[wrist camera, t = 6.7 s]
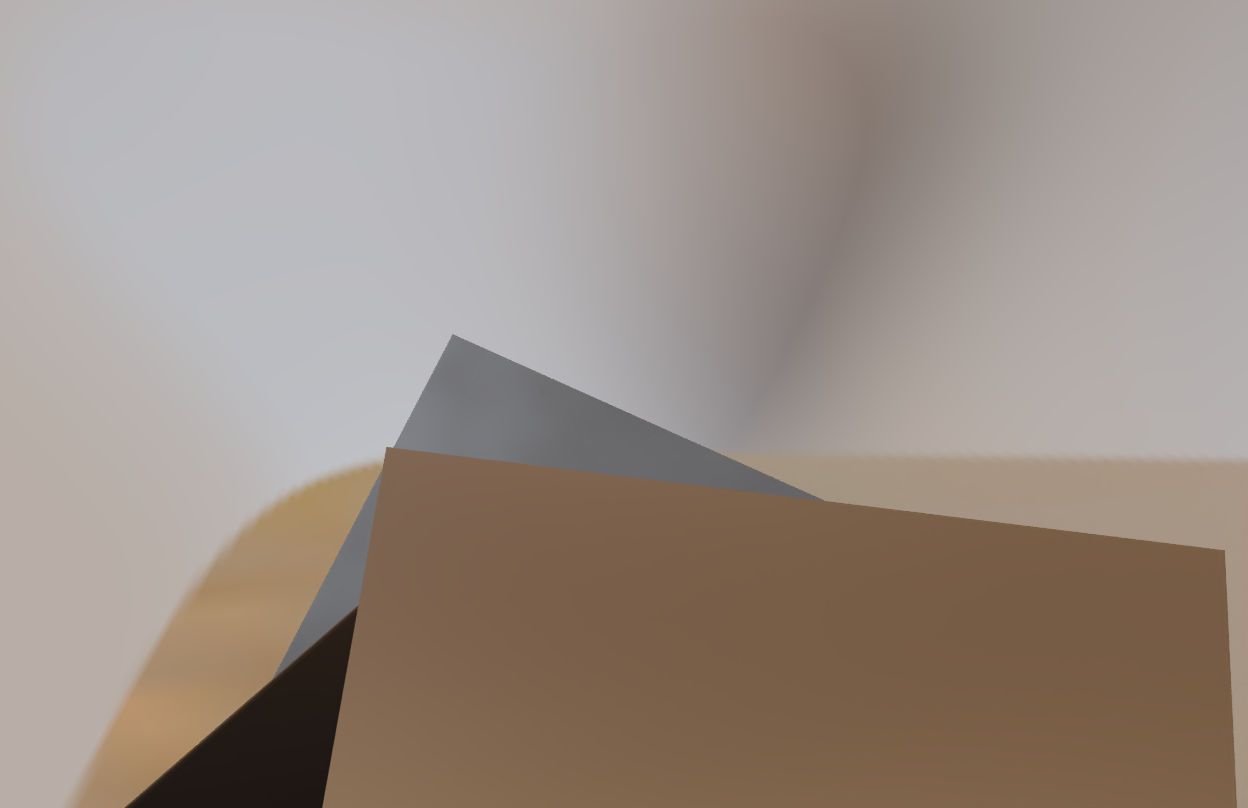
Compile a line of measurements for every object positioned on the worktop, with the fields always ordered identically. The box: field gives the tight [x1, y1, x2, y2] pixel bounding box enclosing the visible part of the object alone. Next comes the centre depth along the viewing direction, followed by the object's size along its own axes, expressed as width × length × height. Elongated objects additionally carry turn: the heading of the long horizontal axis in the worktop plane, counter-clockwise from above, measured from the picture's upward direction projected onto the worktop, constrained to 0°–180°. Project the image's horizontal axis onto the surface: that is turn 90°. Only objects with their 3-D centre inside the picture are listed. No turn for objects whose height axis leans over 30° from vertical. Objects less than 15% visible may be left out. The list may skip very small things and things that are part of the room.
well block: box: [273, 335, 824, 679], centre depth 17 cm, size 10×10×4 cm
